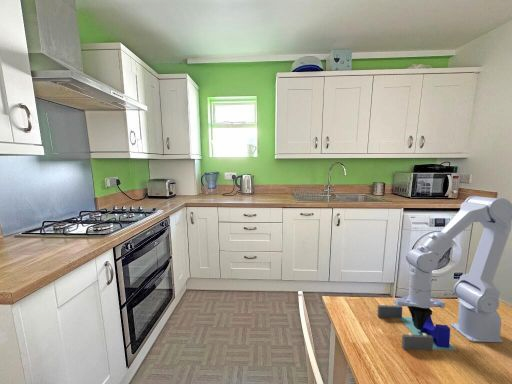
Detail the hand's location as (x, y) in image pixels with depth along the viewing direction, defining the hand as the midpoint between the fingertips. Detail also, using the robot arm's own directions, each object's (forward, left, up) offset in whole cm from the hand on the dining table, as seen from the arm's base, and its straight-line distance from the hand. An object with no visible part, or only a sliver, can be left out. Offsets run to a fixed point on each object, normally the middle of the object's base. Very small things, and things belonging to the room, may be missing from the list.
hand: (417, 327), depth 73 cm
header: (+5, 0, -1) cm, 5 cm away
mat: (-2, 0, -1) cm, 2 cm away
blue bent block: (-3, +1, -2) cm, 3 cm away
